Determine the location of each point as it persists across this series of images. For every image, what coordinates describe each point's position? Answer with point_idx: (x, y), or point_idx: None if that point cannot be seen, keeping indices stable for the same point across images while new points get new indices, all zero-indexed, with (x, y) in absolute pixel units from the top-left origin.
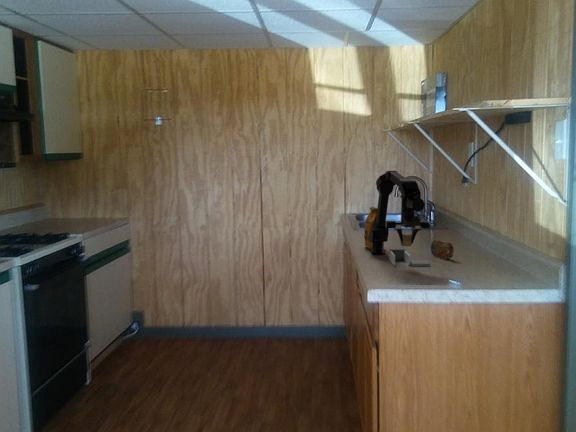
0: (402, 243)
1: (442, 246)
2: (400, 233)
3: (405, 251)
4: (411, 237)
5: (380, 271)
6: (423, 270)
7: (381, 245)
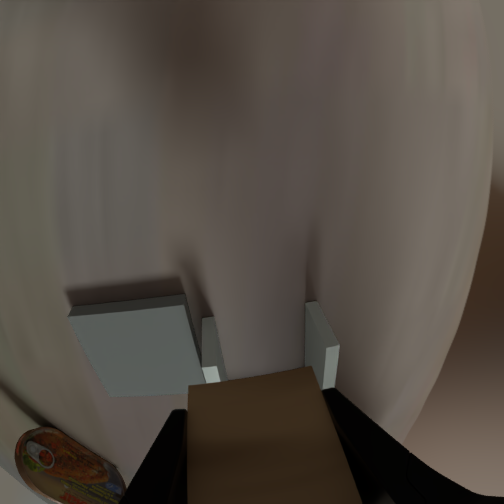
0: (323, 391)
1: (66, 485)
2: (434, 499)
3: None
4: (191, 494)
5: (422, 100)
6: (102, 165)
7: None
